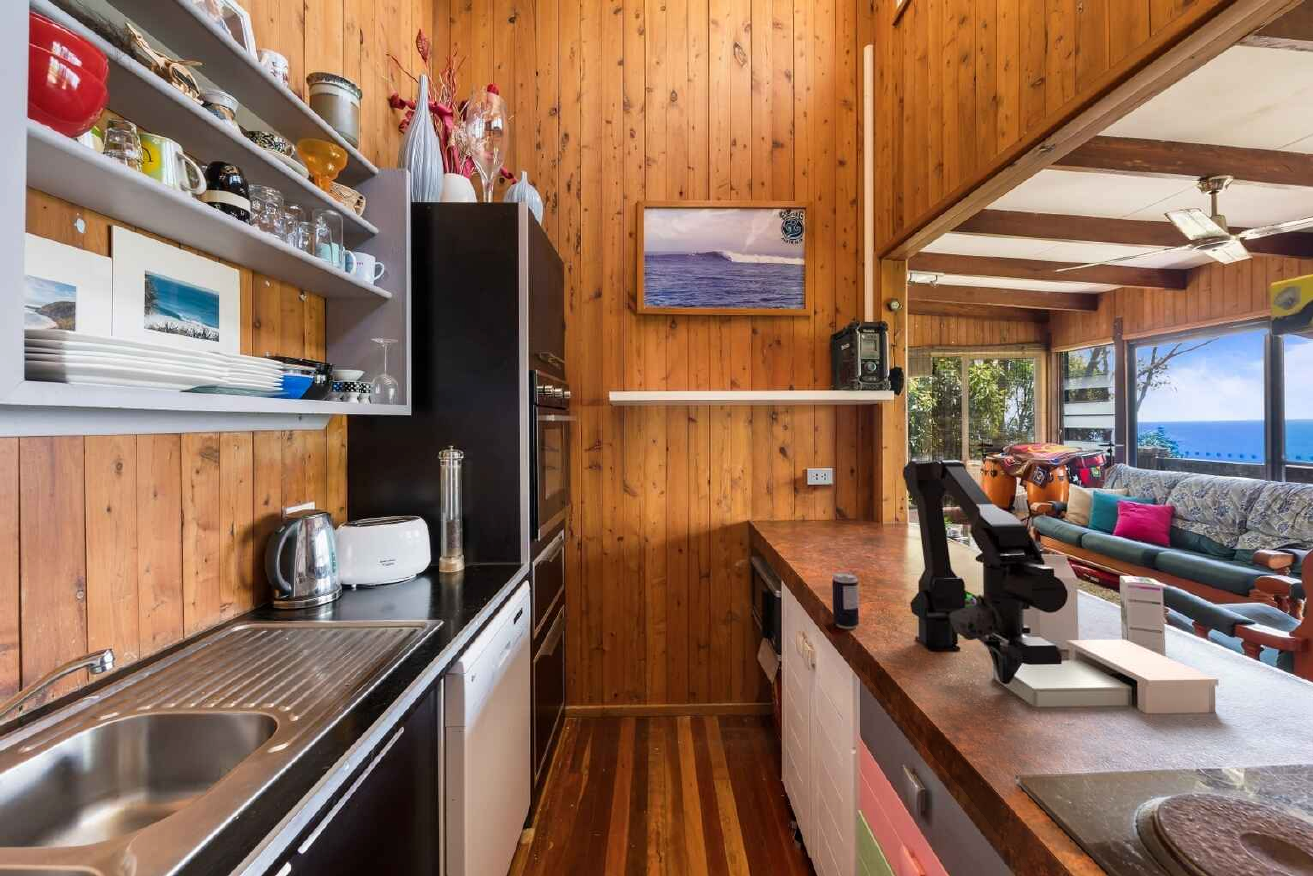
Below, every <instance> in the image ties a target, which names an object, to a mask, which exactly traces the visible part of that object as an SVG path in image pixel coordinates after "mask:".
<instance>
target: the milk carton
mask: <svg viewBox="0 0 1313 876" xmlns="http://www.w3.org/2000/svg"><path fill="white" fill-rule="evenodd" d="M1041 554H1042V555H1041V556H1042V558H1043V560H1044V562H1045V564H1044V565H1040V566H1047V567H1051V568H1053V569H1054V576H1055V577H1057V578H1059V579H1060V580H1061V581H1062V582H1063V583H1064V585H1065V587H1066V589H1067V591H1068V598H1067V601H1066V603H1065V605H1064V606H1063V607H1062V608H1061V609H1060V610H1058V611H1056V612H1053V613H1047V612H1043V611H1041V610H1038V609H1036V608H1034V607H1031V606H1030V609H1023V613H1024V625H1026V626H1028V627H1030V633H1023V634H1022V635H1024V636H1026V637H1041V638H1043V639H1045V640H1046V641H1048V642H1050V643H1052V644H1054V645H1056V646H1057V647H1058V648H1059V649H1060V650H1061V651H1063V650H1064V651H1069V646H1067V640H1079V603H1078V601H1079V600H1078V599H1079V598H1078V597H1079V596H1078V594H1079V593H1078V577H1077V575H1076V574H1075V571H1074V569H1073V568H1072V566H1071V565H1070V563H1069V561H1068V555H1067V554H1050V553H1049V554H1045V553H1041Z"/></svg>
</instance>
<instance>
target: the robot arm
mask: <svg viewBox="0 0 1313 876" xmlns="http://www.w3.org/2000/svg"><path fill="white" fill-rule="evenodd" d="M902 477H903V479H904V482H905V483H904V484H905V487H906V490H907V492H908V493H909V495H911V497H912V498H913V499H914V500H915V501H916V503H915V504H916V508H917V509H916V510H917V515H918V525H919V531H920V532H919V534H920V541H921V549H922V556H923V563H924V570H923V572H922V574H921V576H920V578H919V580H918V592H917V593H916V595H915V596H914V597H913V598H912V600H911V601H910V603H909V604H910V610H911V614H913V615H915V616H916V617H918V636H915V637H914V640H915V641H917V642H918V643H920V644H921V645H922V646H923V647H925V648H926V649H927V650H928V651H931V652H932V651H933V652H935V651H936V652H938V651H939V652H940V651H942V652H943V651H961V647H960V646H959V645H958V644H959V643H958V642H959V638H958V635H960V636H961V637H963V639H965V640H967V641H973V640H978V641H980V643H982V644H983V645H984V646H985V647H986V648H987V651H988V652H989V655H990V658H991V660H992V664H993V663H994V666H995V669H996V672H997V674H998V677H999V680H1000V682H1001V683H1003V684H1009V683H1010V682H1011V680H1012V678H1013V677H1014V675H1015V674H1016V672H1017V671H1018V669H1019V667H1020V666H1021V665H1022V663H1024V664H1028V665H1048V664H1062V661H1063V659H1062V658H1063V655H1062V654H1063V652H1062V651H1063V650H1060V649H1059V648H1058V647H1057V646H1056V645H1054V644H1052V643H1050V642H1048V641H1046V640H1045V639H1043V638H1041V637H1026V636H1024V635H1023V633H1030V627H1028V626H1026V625H1024V613H1023V609H1030V606H1031V607H1034V608H1036V609H1038V610H1041V611H1043V612H1047V613H1053V612H1056V611H1058V610H1060V609H1061V608H1062V607H1063V606H1064V605H1065V603H1066V601H1067V598H1068V591H1067V589H1066V587H1065V585H1064V583H1063V582H1062V581H1061V580H1060V579H1059V578H1057V577H1055V576H1054V569H1053V568H1051V567H1047V566H1040V565H1044V564H1045V562H1044V560H1043V558H1042V556H1041V555H1042V554H1043V553H1042V552H1041V551H1040V549H1039V548H1038V547H1037V544H1036V543H1035V541H1034V539H1033V537H1032V536H1031V534H1030V531H1029V529H1028V527H1027V526H1026V525H1025V524H1024V522H1022V521H1020V519H1018V517H1016V516H1015V515H1014V514H1012V513H1010V512H1009V511H1006V510H1004V509H1002V508H999V507H998V506H997V505H996V504H995V503H994V502H993V501H992V500H991V499H990V498H989V496H988V495H987V493H986V492H985V491H984V490H983V489H982V488H981V486H980V485H979V484H978V483H977V481H976V480H975V479H974V478H973V476H971V475H970V473H969V472H968V471H967V470H966V464H965V463H964V462H963V461H961V460H957V459H939V460H937V459H936V460H910V461H909V462H908V463H907V464H906V465H905V466H904V468H903V469H902ZM947 491H948V493H949V494H950V495H951V497H952V498H953V500H954V501H955V502H956V504H957V505H958V507H959V508H960V509H961V510H962V512H963V513H964V514H965V516H966V517H967V518H968V521H969V522H970V529H969V533H970V535H971V537H972V539H973V541H974V543H975V544H976V546H977V548H978V549H979V551H981V553H980V554H978V555H976V557H974V558H975V559H974V560H975V561H976V562H979V563H982V579H983V582H982V583H983V586H982V587H983V588H982V589H983V594H977V596H978V597H977V598H976V605H974V606H969V607H966V602H967V596H966V593H965V590H966V587H965V584H966V583H965V584H964V582H965V581H964V579H963V578H962V577H958V576H957V575H956V573H955V572H954V571H953V569H952V565H951V558H950V557H951V556H950V551H949V543H948V536H947V528H946V519H945V513H944V507H943V506H944V505H943V499H944V497H945V495H946V493H947ZM1000 682H999V683H1000ZM1001 683H1000V684H1001Z"/></svg>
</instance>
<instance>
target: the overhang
mask: <svg viewBox="0 0 1313 876" xmlns="http://www.w3.org/2000/svg"><path fill="white" fill-rule="evenodd" d="M1067 646H1069V650H1068V661H1074V660H1080V661H1082V662H1084V663H1086V664H1088V665H1090V666H1092V667H1094V668H1096V669H1098V670H1100V671H1101V672H1103V673H1105V674H1123V675H1125V676H1127V677H1128V678H1130V679H1133V680H1135V681H1136V682H1137V709H1138V710H1139V711H1141V712H1143V713H1145V714H1195V713H1197V714H1201V713H1203V714H1204V713H1205V714H1206V713H1216V687H1217V686H1219V679H1218V678H1216V677H1214V676H1211V675H1209V674H1207V673H1204V672H1202V671H1200V670H1197V669H1195V668H1193V667H1191V666H1188V665H1186V664H1183V663H1181V662H1180V661H1176V660H1174V659H1172V658H1169V657H1167V656H1162V655H1160V654H1158V653H1155V652H1153V651H1151V650H1148V649H1146V648H1144V647H1141V646H1139V645H1137V644H1134V643H1132V642H1130V641H1127V640H1125V639H1122V638H1121V639H1078V640H1067Z"/></svg>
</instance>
